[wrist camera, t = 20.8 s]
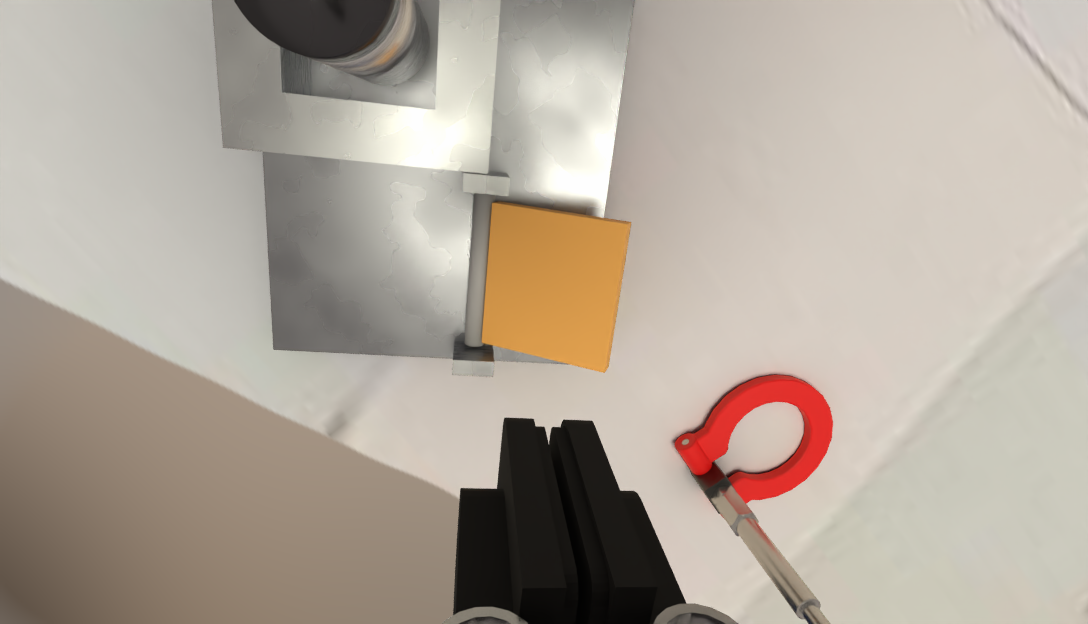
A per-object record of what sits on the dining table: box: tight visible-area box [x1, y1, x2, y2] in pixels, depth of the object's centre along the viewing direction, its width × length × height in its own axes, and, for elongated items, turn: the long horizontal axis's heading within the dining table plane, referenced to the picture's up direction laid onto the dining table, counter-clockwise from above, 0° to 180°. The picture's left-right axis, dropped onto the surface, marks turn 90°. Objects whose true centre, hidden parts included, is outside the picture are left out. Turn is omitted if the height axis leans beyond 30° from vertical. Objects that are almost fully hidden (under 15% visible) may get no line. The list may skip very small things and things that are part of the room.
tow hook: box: [675, 375, 833, 624], centre depth 28 cm, size 8×13×9 cm
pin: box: [234, 0, 429, 85], centre depth 18 cm, size 4×4×11 cm
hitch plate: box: [212, 0, 634, 377], centre depth 24 cm, size 22×16×5 cm
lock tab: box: [464, 193, 631, 373], centre depth 26 cm, size 8×1×8 cm
